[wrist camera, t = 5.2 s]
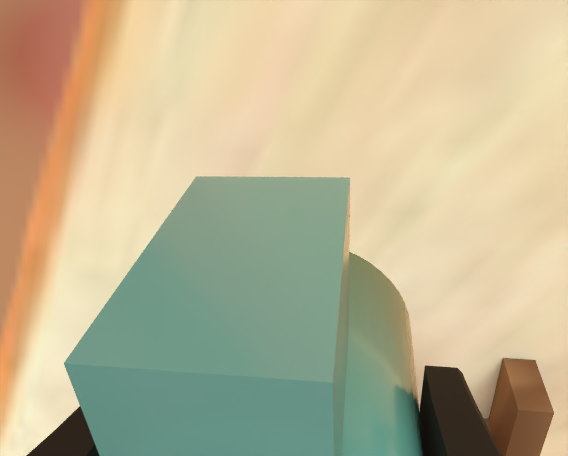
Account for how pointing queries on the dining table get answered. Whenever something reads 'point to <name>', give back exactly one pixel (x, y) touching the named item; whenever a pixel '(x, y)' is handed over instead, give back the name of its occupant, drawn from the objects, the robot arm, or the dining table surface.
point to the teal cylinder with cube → (251, 334)
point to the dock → (520, 409)
